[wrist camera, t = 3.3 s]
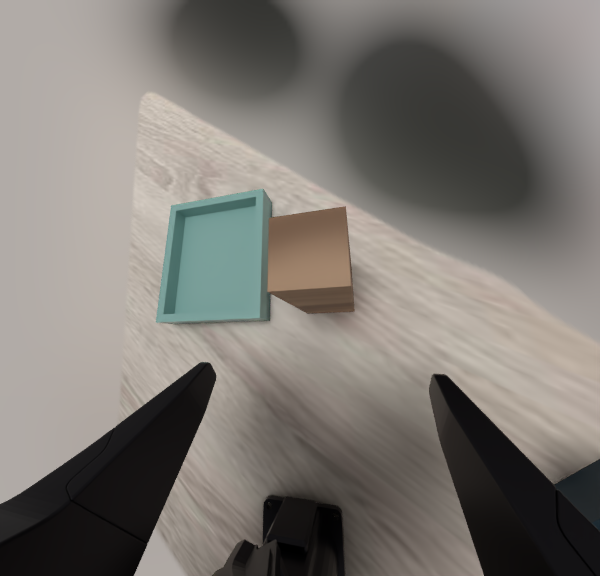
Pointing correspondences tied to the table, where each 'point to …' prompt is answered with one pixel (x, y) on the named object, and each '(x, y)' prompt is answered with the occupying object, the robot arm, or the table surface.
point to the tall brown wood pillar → (311, 261)
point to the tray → (217, 261)
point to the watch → (584, 491)
